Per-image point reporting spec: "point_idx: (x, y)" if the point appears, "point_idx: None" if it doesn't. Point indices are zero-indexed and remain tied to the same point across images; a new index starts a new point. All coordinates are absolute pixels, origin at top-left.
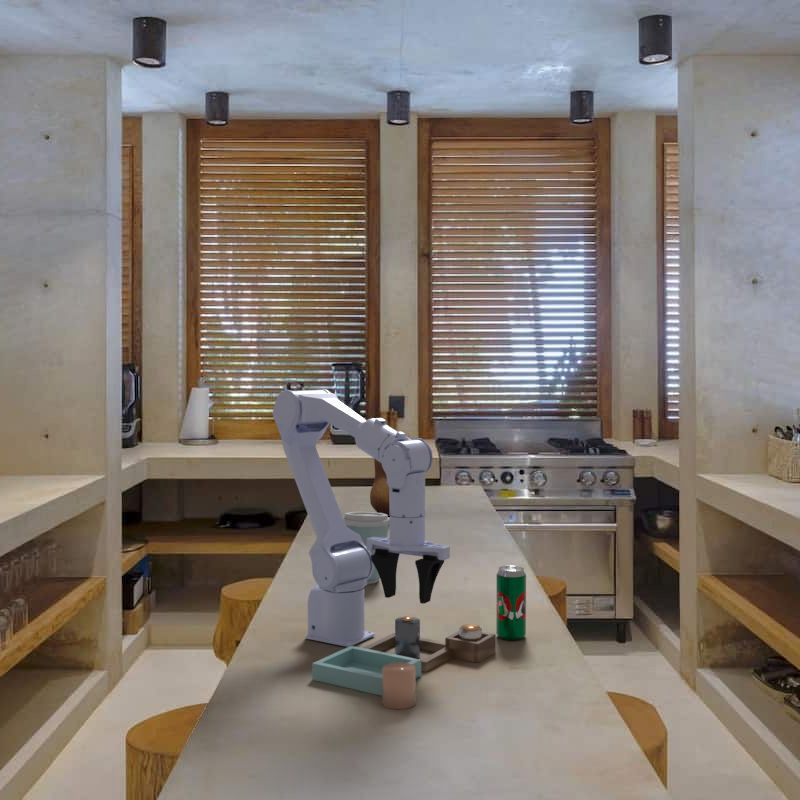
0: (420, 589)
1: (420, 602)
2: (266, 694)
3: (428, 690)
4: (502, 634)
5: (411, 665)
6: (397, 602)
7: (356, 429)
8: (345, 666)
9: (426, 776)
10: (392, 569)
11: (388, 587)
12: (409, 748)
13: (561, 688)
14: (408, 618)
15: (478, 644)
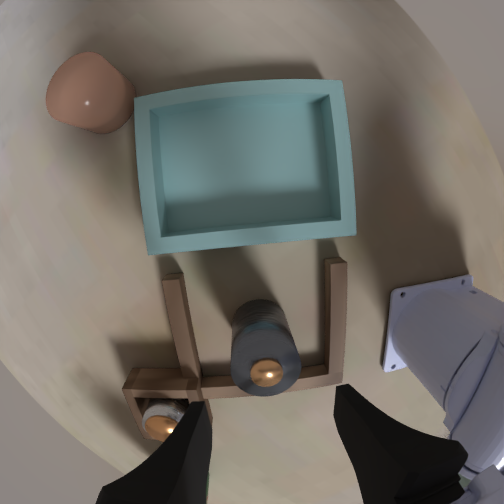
0: (188, 429)
1: (203, 402)
2: (336, 7)
3: (101, 191)
4: None
5: (60, 115)
6: None
7: None
8: (325, 184)
9: (8, 13)
10: (365, 473)
11: (347, 410)
12: (35, 26)
13: (3, 327)
14: (261, 372)
15: (122, 388)
